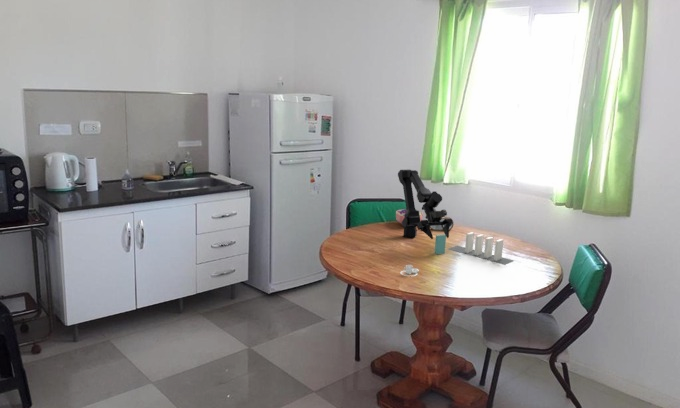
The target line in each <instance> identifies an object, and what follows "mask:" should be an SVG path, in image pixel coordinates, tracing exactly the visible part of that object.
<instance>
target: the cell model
mask: <svg viewBox="0 0 680 408" xmlns="http://www.w3.org/2000/svg"><path fill="white" fill-rule="evenodd" d="M416 210H417V209H416ZM417 211H419V215H420V221H421V220H423V217H424V216H423V215H424V213H423V212H422V211H421V210H417ZM405 212H406V208H405V209H398V210H396V211H395V218H396V222H398V223H399V224H400V225H402V221H403V219H404V218H405V217H404V215H405Z"/></svg>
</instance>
